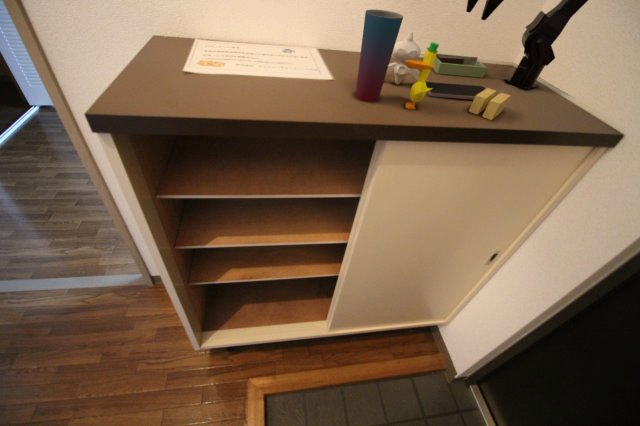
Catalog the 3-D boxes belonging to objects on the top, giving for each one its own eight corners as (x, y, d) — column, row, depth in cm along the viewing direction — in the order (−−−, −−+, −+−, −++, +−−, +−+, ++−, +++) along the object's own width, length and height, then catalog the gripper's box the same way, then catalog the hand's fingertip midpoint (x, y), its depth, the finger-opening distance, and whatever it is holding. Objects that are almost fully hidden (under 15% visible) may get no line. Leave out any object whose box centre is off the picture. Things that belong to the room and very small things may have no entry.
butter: (479, 103, 65) (487, 87, 62) (501, 111, 63) (510, 95, 60) (468, 111, 61) (475, 95, 58) (491, 120, 59) (500, 103, 56)
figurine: (372, 84, 67) (384, 30, 59) (372, 77, 70) (383, 25, 63) (423, 91, 66) (441, 38, 59) (420, 84, 70) (437, 32, 62)
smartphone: (422, 81, 69) (483, 86, 70) (421, 86, 70) (481, 90, 70) (430, 93, 64) (495, 98, 64) (428, 98, 65) (493, 102, 65)
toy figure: (393, 108, 58) (412, 42, 50) (392, 101, 61) (410, 37, 52) (426, 112, 58) (450, 47, 50) (423, 105, 61) (446, 42, 52)
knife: (476, 56, 79) (437, 54, 79) (479, 58, 78) (439, 56, 78) (471, 67, 81) (434, 65, 81) (474, 70, 80) (436, 67, 80)
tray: (469, 66, 85) (473, 57, 83) (482, 77, 78) (487, 67, 76) (427, 62, 84) (430, 52, 82) (436, 73, 77) (440, 63, 75)
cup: (381, 106, 59) (403, 20, 48) (349, 100, 59) (364, 14, 49) (383, 93, 63) (403, 13, 53) (353, 88, 64) (367, 7, 53)
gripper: (458, -76, 67) (433, 5, 78) (494, -77, 54) (458, 20, 65) (502, -69, 68) (471, 10, 79) (549, -69, 55) (504, 26, 66)
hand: (475, 15), depth 72 cm, fingers open, 9 cm apart
